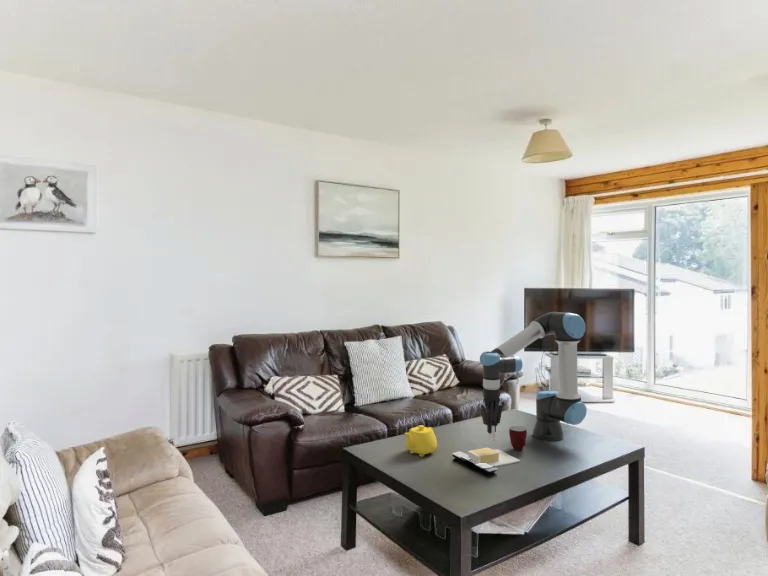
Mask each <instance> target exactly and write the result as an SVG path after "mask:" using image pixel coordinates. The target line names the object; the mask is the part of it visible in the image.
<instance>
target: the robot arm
mask: <svg viewBox="0 0 768 576" xmlns="http://www.w3.org/2000/svg"><path fill="white" fill-rule="evenodd" d="M585 333H586V322H585V321H584V318H582V317H581V315H579V314H577V313H572V312H561V311H560V312H558V311H551V312H550V311H549V312H547V313H545V314H542V315H541V316H539V317H537V318H535V319H534V320H532V321H531V322H530V323H529V325H528V326H527V327H526V328H524V329H523V330H521V331H519V332H518V333H517V334H515V335H514V336H512V337H510V338H508V340H506V341H504V342H503V343H502V344H500V345H498V346H497V347H495V348H494V349H492V350H491V351H488V350H487V351H483V352H481V354H480V356H479V362H480V364H481V365H482V387H483V389H482V396H483V400H482V403H479V404H478V407H479V409H480V414H481V418H482V422H483V424H484V425H485V426H486V427H487V430H486V431H487V433H488V440H489V441H492V442H493V441H495V440H496V432H497V426H498V424H499V425H500V423H501V418H502V413H503V409H504V406H505V402H504V401H502V400H501V398H500V397H501V389H500V388H501V375H502V374H513V373H514V374H515V373H518V372H521V370H522V369H523V361H522V358H521V357H520V356H518V355H516V354H518V353H519V352H520V351H522V350H523V349H525V348H527V347H528V346H529V345H532V344H533V343H534V342H535V341H536V340H538V339H543V338H545V337H546V336H554V341H555V342H556V343H557V344H558V345H557V347H558V350H557V352H558V353H557V355H558V390H557V391H556V390H542V391H539V392H537V393H536V398H535V405H536V406H535V407H536V409H535V412H536V414H535V415H536V417H535V419H536V420H535V424H534V427H533V429H532V436H533V437H534V438H536V439H539V440H544V441H560V440H562V439H564V436H565V434H564V430H563V426H562V424H561V422H563V423H565V424H567V425H573V426H576V425H580V424H581V423H582V422H583V421H584V420H585V418H586V416H587V410H588V409H587V405H585V403H584V402H582V397H581V394H579V393H578V391H579V390H578V389H579V387H578V343H580V342H581V338H582V337H583V336H584V335H585Z"/></svg>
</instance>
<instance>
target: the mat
mask: <svg viewBox="0 0 768 576" xmlns="http://www.w3.org/2000/svg"><path fill="white" fill-rule="evenodd" d="M493 450H494V451H496V452H498V453H499V461H495V462H490V463H487V464H489V465H492V466H495V467H494V468H496V467H497V468H498V467H502V466H506V465H512V464H516V463H517V464H518V463H521V460H520V459H518V458H516V457H515V456H512V455H511V454H509V453H507V452H505V451H503V450H500V449H493Z"/></svg>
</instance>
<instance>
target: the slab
mask: <svg viewBox="0 0 768 576" xmlns="http://www.w3.org/2000/svg"><path fill="white" fill-rule="evenodd" d="M494 450H495V449H492V448H491V447H483V448H477V449H472V450H468V451H467V455H468V457H469V458H471V459H473V460H474V461H476V462H477V463H490V462H495V461H499V453H498V452H496V451H494Z"/></svg>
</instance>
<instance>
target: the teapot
mask: <svg viewBox="0 0 768 576" xmlns="http://www.w3.org/2000/svg"><path fill="white" fill-rule="evenodd" d="M404 435H406V438H405V447H406V449H407V450H408V451H409V452H413V454H418V457H420V456H422V457H421V458H424V457H425V455H426V454H427V455H428V454H430V453H431V454H432V455H433V454H434V452H435V451H436V449H437V447H438V441H437V437H436V435H435V431H434V428H433V427H430V426H429V427H427V426H425V425H423V424H422V425H421V424H420V425H417V426H415V427H412V428H410V429H409V431H408V432H404ZM423 456H424V457H423Z"/></svg>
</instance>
